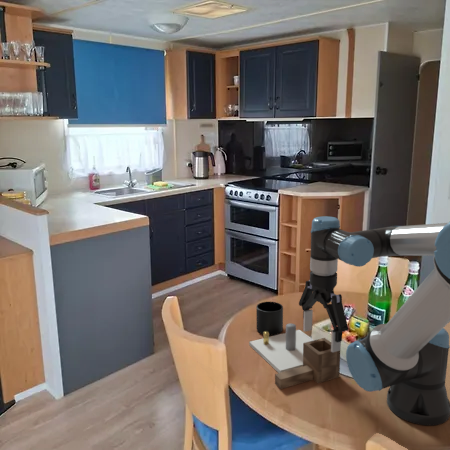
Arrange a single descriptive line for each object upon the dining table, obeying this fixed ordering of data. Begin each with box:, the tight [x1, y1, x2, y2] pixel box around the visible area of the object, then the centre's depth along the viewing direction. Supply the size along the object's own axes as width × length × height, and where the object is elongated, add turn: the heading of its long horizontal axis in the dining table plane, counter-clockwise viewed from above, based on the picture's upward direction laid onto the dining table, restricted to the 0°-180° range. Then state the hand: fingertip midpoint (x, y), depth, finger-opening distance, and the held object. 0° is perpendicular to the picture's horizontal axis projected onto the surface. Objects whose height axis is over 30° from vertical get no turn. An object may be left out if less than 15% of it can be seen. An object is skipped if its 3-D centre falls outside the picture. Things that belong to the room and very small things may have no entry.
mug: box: [255, 301, 284, 336], centre depth 161 cm, size 9×12×9 cm
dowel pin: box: [262, 331, 270, 345], centre depth 148 cm, size 2×2×4 cm
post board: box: [248, 323, 315, 374], centre depth 144 cm, size 20×20×9 cm
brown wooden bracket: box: [274, 337, 341, 390], centre depth 129 cm, size 19×8×9 cm, turn 114°
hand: (320, 340), depth 130 cm, fingers open, 13 cm apart
